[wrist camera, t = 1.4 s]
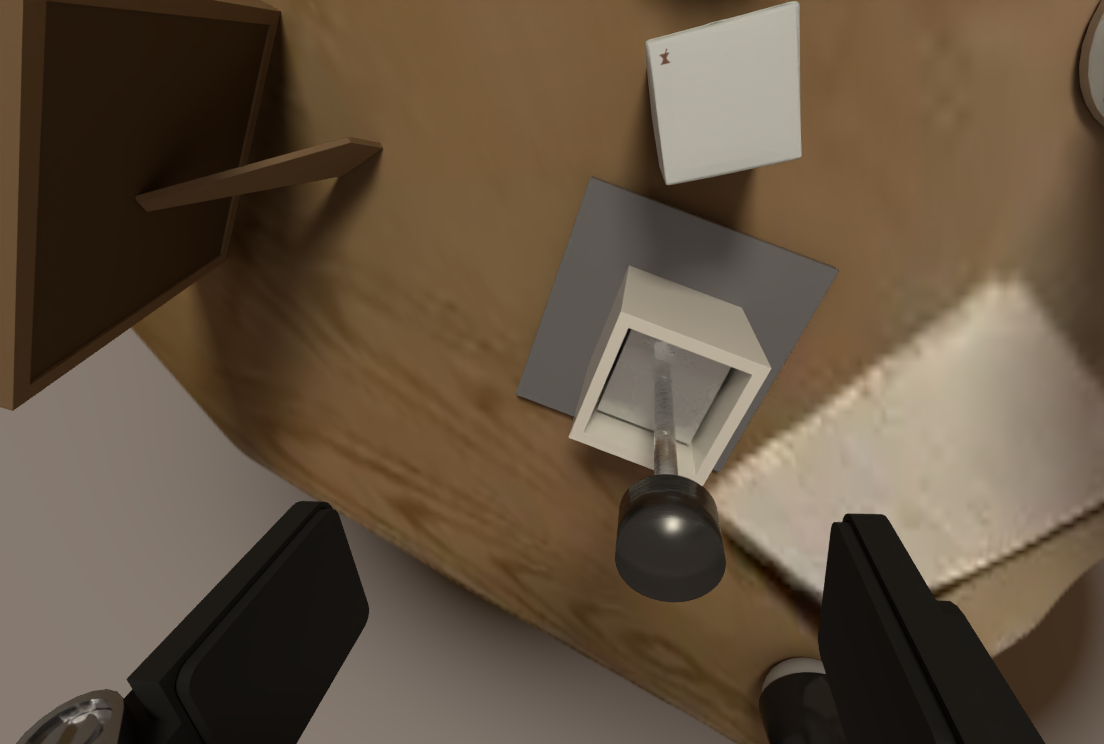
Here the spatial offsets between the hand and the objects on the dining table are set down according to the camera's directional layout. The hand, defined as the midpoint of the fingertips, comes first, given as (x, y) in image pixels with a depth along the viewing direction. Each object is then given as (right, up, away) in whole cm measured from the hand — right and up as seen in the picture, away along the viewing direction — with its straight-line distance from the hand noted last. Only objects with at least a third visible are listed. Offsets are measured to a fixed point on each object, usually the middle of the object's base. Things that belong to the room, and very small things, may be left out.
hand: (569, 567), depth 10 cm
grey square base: (+9, +7, +36) cm, 38 cm away
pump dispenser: (+27, -30, +49) cm, 64 cm away
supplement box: (+11, +23, +29) cm, 38 cm away
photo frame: (-23, +21, +36) cm, 48 cm away
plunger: (+7, +3, +27) cm, 28 cm away
